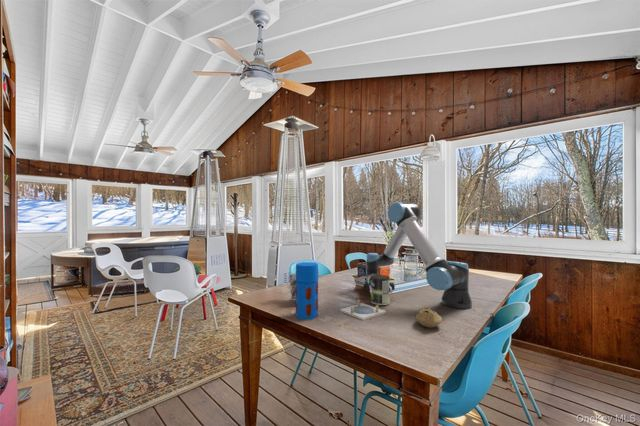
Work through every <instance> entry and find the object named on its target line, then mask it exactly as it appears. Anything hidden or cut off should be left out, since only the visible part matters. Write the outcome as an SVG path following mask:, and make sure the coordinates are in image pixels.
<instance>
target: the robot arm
mask: <svg viewBox="0 0 640 426" xmlns="http://www.w3.org/2000/svg"><path fill="white" fill-rule="evenodd" d="M387 217H388V219H389V221H390V222H392V223H395V225H396V226H397V228H396V230H395V232H394V233H393V235H392V237H391V238H390V240H389V242H388V244H387V245H386V247H385V248H384V251H383V252H382V254H380V255H379V253H377V252H369V253H367V254H366V274H365V278H366V280H365V281H364V283H363V290H364V291H365V290H366V292H369V293H370V294H371V293H372V287H371V276H373V275H380V274H379V268H382V267H389V266H392V265H393V264H394V263H395V260H396V259H395V257H396V255H397V253H398V251H399V250H400V249H401V247H402V245H403V243H404V242H405V240H406V238H408V239H409V242H410V243H411V245H412V247H413V248H414V249H415V251H416V253H417V254H418V256H419V258H420V259H421V261H422V262H423V264H424V267H425V268H424V270H425V272H426V273H425V274H426V275H425V276H426V277H425V279H426V282H427V284H428V285H429V286H430V288H432V289H433V290H437V291H443V293H442V296H441V304H442V305H444V306H446V307H449V308H454V309H471V308H472V307H473V301H472V297H471V295H470V291H469V282H470V281H469V275H470V274H469V271H470V269H469V264H468V263H466V262H462V261H461V262H460V261H453V260H452V261H450V260H446V258H442V257H440V255H439V254H438V251H436V248H434V246H433V244H432V243H431V241H430V240H429V238H428V237H427V236H426V234H425V233H424V231H423V229H422V228H421V226H420V225H419V221H420V217H421V209H420V206H419V205H418V204H416V203H414V202H410V201H409V202H407V201H406V202H405V201H404V202H403V201H398V202H397V201H396V202H393V203H391V204H390V205H389V207H388V209H387ZM395 287H396V286H395V284H393V283H391V282H389V294H391V295H392V294H393V291H395Z"/></svg>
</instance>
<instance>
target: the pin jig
mask: <svg viewBox="0 0 640 426" xmlns="http://www.w3.org/2000/svg"><path fill="white" fill-rule="evenodd" d="M356 301H357V302H356V304H354V305H350V306H347V307H343V308H340V309H339V312H341V313H344V314H347V315H349V316H352V317H353V318H356V319H359V320H361V321H366V320H368V319H372V318H375V317H377V316H381V315H384V314H386V310H384V309H381V308H379V305H376V304H375V306H372V305H369V304H366V303H363V302H362V303H361V299H357V300H356Z"/></svg>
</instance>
